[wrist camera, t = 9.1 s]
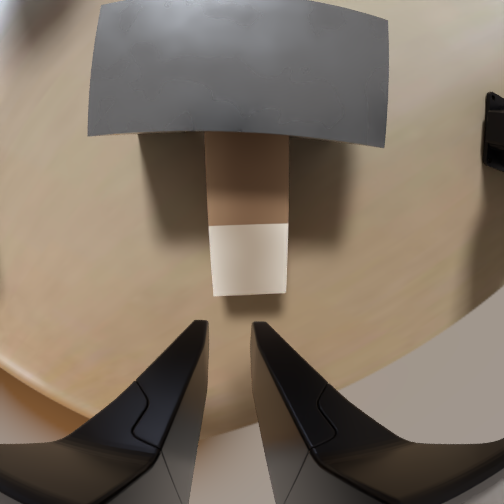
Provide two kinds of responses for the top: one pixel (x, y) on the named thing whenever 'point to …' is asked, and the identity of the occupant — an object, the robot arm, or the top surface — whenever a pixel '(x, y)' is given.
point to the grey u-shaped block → (240, 69)
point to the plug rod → (247, 211)
